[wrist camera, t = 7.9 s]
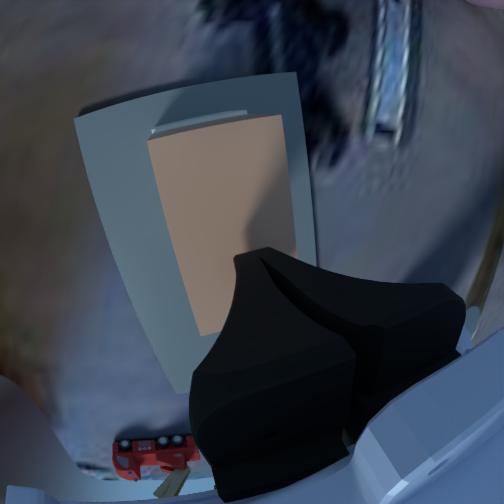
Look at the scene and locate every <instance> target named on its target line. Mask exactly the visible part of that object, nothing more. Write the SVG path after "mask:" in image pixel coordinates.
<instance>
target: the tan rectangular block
mask: <svg viewBox="0 0 504 504" xmlns="http://www.w3.org/2000/svg"><path fill="white" fill-rule="evenodd" d="M147 144H148V149H149V154H150V158H151V162H152V167H153V171H154V175H155V179H156V184H157V188H158V192H159V196H160V200H161V204H162V208H163V211H164V215H165V219H166V223H167V227H168V230H169V234H170V238H171V241H172V245H173V248H174V252H175V255H176V259H177V262H178V266H179V269H180V273H181V276H182V279H183V282H184V286H185V289H186V292H187V295H188V299H189V302H190V305H191V308H192V311H193V314H194V317H195V321H196V324H197V327H198V330H199V333H200V336H204V335H208V334H212V333H216V332H219V331H221V330H222V328H223V326H224V324H225V321H226V319H227V316H228V314H229V310H230V307H231V304H232V300H233V295H234V290H235V283H236V271H235V267H234V262H233V258H234V256H235V255H238V254H241V253H245V252H249V251H253V250H257V249H261V248H265V247H271V248H274V249H276V250H278V251H280V252H283V253H285V254H287V255H289V256H291V257H294V258H296V259H298V257H297V246H296V235H295V225H294V215H293V206H292V196H291V188H290V179H289V170H288V162H287V154H286V146H285V138H284V131H283V123H282V116H281V115H276V114H244V115H238V116H232V117H226V118H221V119H215V120H210V121H205V122H200V123H195V124H191V125H186V126H182V127H177V128H173V129H169V130H165V131H160V132H156V133H153V134H152V135H151V136H150V137H149V139H148V140H147Z"/></svg>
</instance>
